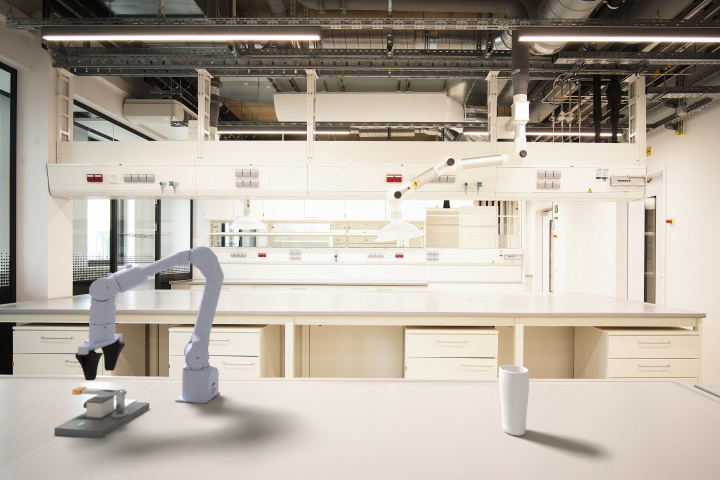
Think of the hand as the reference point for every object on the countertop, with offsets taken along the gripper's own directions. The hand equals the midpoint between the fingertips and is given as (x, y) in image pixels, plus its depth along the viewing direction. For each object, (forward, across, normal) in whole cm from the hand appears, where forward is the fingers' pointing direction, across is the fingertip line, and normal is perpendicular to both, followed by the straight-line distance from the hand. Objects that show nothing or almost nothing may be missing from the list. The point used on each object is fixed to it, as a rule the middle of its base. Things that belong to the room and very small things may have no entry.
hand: (100, 374), depth 98 cm
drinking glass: (+9, +11, +106) cm, 107 cm away
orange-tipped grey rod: (+8, +4, +3) cm, 9 cm away
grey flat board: (+10, +4, +5) cm, 12 cm away
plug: (+8, +4, +3) cm, 10 cm away
